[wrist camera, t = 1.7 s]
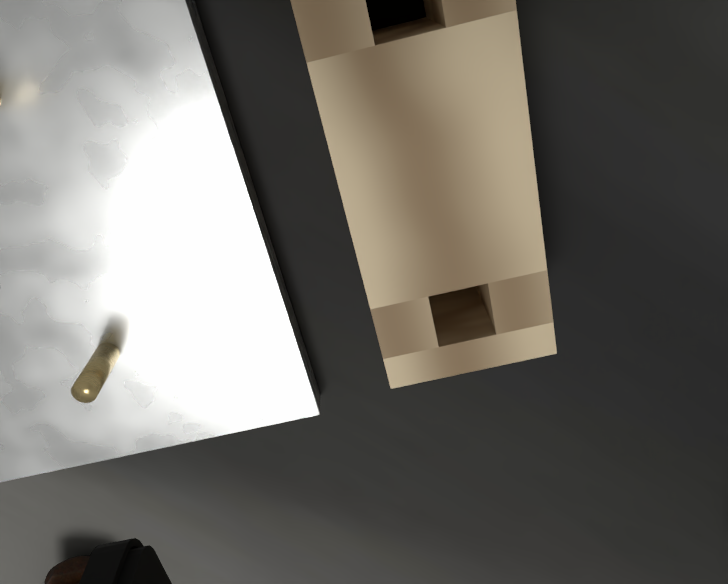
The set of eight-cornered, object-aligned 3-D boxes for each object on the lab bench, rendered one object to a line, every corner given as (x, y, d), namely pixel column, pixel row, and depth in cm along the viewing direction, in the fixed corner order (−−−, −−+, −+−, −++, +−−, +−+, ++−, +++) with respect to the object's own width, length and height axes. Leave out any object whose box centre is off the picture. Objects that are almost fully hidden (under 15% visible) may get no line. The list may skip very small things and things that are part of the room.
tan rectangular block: (468, -109, 22) (500, -129, 18) (523, 295, 29) (556, 353, 25) (285, -61, 23) (272, -68, 18) (382, 326, 30) (390, 388, 25)
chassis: (152, -132, 22) (110, -154, 18) (320, 395, 31) (317, 457, 27) (-281, -12, 23) (-412, -8, 19) (9, 461, 33) (-37, 531, 29)
